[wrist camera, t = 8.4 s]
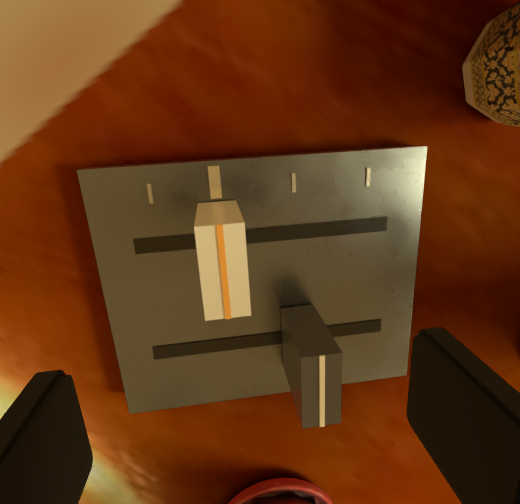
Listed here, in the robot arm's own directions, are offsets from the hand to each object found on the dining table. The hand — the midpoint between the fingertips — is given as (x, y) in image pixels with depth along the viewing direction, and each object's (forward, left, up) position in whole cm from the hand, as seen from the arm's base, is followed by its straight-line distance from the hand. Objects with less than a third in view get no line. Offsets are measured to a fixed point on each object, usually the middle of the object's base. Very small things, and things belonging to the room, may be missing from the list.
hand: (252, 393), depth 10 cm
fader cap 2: (-5, +8, -15) cm, 17 cm away
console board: (-3, +4, -17) cm, 17 cm away
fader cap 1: (0, 0, -15) cm, 15 cm away
